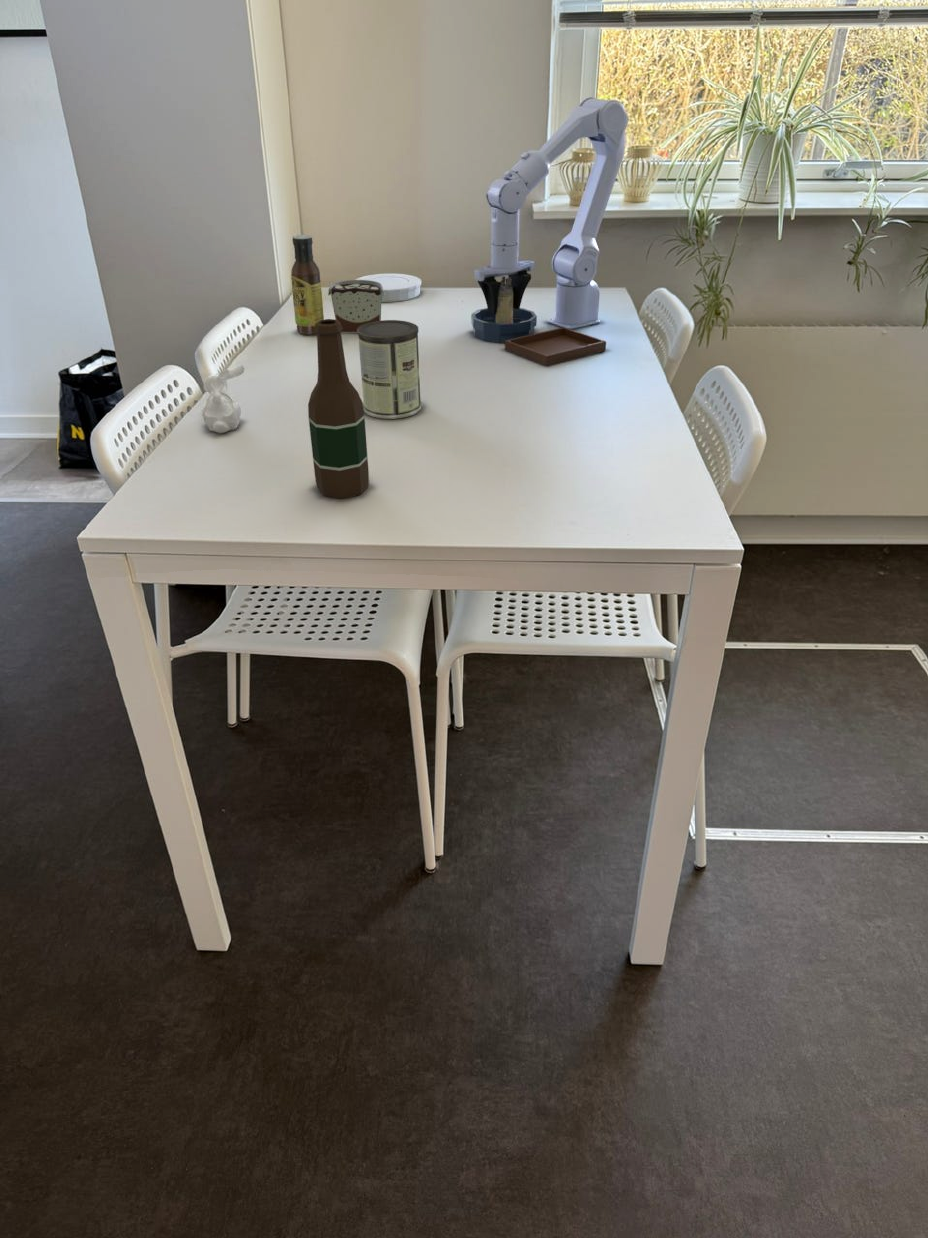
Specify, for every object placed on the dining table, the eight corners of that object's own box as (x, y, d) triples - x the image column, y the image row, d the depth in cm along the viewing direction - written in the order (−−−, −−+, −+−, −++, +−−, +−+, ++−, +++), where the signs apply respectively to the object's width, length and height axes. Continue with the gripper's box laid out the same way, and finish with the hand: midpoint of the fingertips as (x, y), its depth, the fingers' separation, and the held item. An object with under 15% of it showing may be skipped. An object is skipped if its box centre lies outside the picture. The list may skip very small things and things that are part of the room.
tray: (563, 336, 193) (563, 326, 192) (605, 350, 184) (606, 341, 183) (504, 349, 185) (504, 340, 184) (546, 366, 176) (546, 356, 175)
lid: (330, 295, 223) (329, 282, 221) (392, 281, 234) (392, 270, 233) (373, 308, 212) (372, 295, 211) (435, 293, 224) (435, 281, 222)
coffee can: (377, 395, 162) (372, 317, 155) (429, 402, 160) (427, 322, 152) (353, 415, 154) (346, 333, 146) (408, 422, 152) (404, 339, 144)
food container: (391, 325, 200) (388, 279, 195) (386, 333, 195) (383, 286, 190) (337, 324, 201) (333, 278, 196) (331, 332, 196) (327, 285, 191)
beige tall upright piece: (510, 331, 190) (511, 282, 185) (492, 330, 191) (493, 282, 185) (513, 322, 196) (514, 274, 191) (496, 321, 197) (497, 274, 191)
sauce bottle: (292, 330, 197) (281, 234, 186) (317, 326, 200) (308, 231, 189) (304, 337, 193) (293, 240, 182) (330, 333, 196) (321, 236, 185)
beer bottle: (317, 477, 133) (300, 314, 120) (369, 475, 134) (357, 312, 120) (314, 500, 127) (295, 330, 113) (369, 498, 127) (357, 328, 114)
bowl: (508, 321, 203) (508, 303, 200) (548, 335, 193) (548, 316, 191) (459, 331, 196) (459, 313, 194) (498, 346, 187) (498, 327, 184)
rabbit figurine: (208, 412, 156) (199, 357, 151) (252, 409, 157) (244, 355, 152) (203, 438, 146) (192, 380, 141) (250, 435, 147) (241, 378, 142)
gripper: (520, 235, 190) (518, 301, 198) (465, 244, 183) (466, 312, 191) (541, 241, 186) (539, 307, 193) (486, 250, 179) (486, 319, 186)
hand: (504, 310), depth 192 cm, fingers closed on beige tall upright piece, 6 cm apart
